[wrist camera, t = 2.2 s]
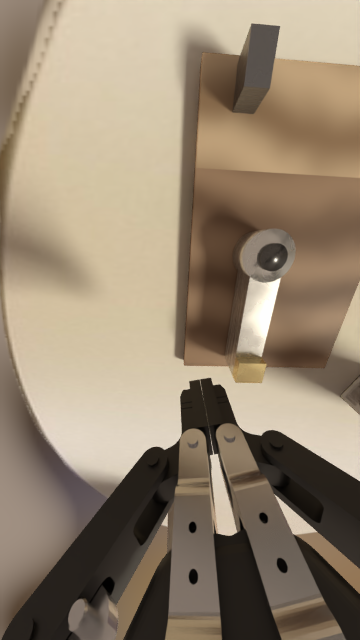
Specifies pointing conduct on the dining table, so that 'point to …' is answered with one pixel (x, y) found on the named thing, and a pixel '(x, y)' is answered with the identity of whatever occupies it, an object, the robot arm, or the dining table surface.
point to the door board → (276, 205)
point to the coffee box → (353, 395)
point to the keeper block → (255, 68)
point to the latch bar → (255, 299)
